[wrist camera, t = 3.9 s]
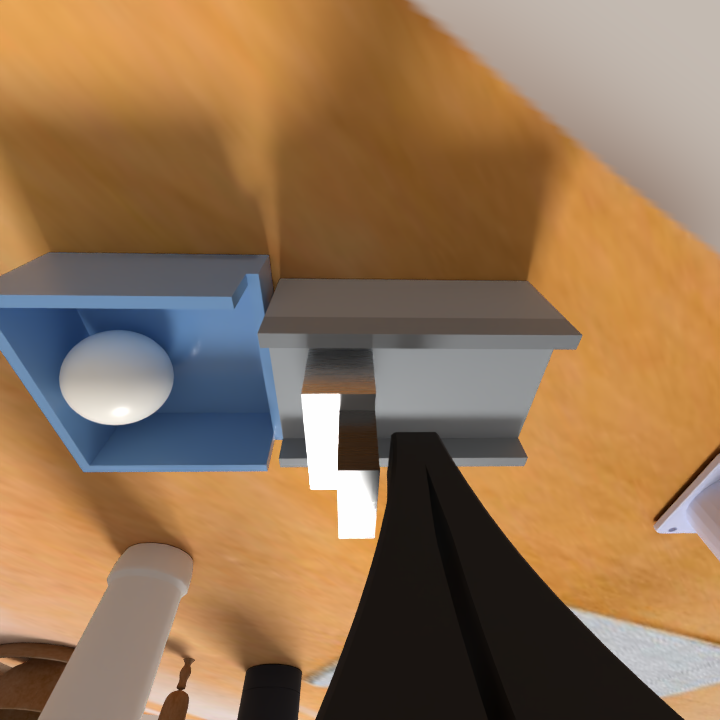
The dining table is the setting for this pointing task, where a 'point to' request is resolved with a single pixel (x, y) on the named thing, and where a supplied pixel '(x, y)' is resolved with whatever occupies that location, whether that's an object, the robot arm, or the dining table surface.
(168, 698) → the place setting
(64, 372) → the ball
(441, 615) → the robot arm
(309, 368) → the grey angular hollow piece
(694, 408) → the dining table surface
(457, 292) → the open gray tray
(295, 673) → the wine bottle
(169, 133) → the dining table surface
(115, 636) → the bottle
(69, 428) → the open box
